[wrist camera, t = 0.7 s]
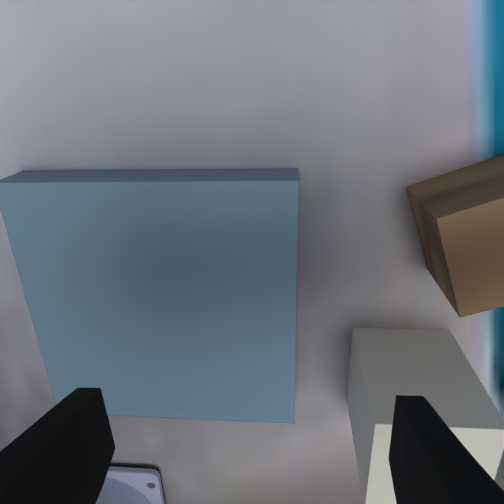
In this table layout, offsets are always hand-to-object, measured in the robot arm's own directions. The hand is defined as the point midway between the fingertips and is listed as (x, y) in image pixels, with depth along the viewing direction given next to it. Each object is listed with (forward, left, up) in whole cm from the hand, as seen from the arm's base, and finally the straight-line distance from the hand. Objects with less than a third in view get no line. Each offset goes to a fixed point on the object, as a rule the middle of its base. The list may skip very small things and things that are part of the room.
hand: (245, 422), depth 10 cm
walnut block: (+2, -8, -10) cm, 13 cm away
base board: (-2, +5, -10) cm, 11 cm away
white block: (-6, -6, -10) cm, 13 cm away
